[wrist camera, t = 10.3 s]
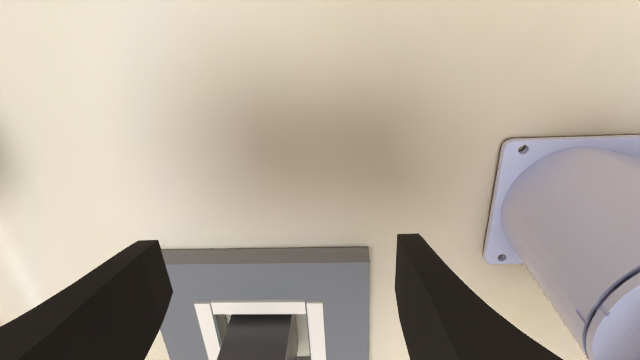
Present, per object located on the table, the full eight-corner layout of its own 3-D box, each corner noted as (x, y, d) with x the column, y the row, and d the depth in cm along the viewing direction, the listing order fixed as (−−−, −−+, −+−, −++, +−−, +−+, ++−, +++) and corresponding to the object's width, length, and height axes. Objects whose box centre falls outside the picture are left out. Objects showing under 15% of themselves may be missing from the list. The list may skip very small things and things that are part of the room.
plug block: (293, 299, 26) (282, 376, 21) (298, 341, 28) (289, 421, 23) (236, 300, 26) (211, 376, 21) (244, 341, 28) (223, 420, 23)
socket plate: (367, 246, 24) (369, 264, 22) (366, 392, 30) (368, 413, 28) (150, 250, 25) (137, 266, 23) (193, 390, 31) (185, 411, 29)
